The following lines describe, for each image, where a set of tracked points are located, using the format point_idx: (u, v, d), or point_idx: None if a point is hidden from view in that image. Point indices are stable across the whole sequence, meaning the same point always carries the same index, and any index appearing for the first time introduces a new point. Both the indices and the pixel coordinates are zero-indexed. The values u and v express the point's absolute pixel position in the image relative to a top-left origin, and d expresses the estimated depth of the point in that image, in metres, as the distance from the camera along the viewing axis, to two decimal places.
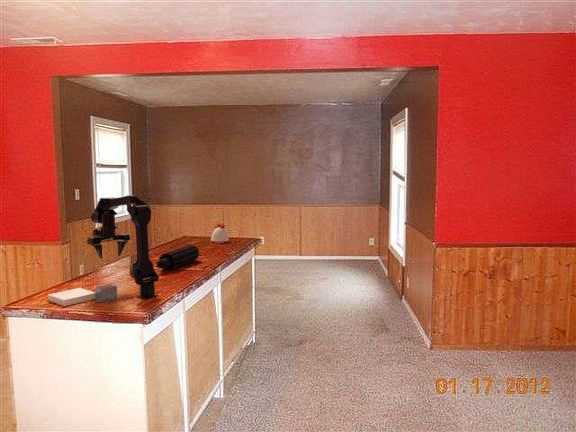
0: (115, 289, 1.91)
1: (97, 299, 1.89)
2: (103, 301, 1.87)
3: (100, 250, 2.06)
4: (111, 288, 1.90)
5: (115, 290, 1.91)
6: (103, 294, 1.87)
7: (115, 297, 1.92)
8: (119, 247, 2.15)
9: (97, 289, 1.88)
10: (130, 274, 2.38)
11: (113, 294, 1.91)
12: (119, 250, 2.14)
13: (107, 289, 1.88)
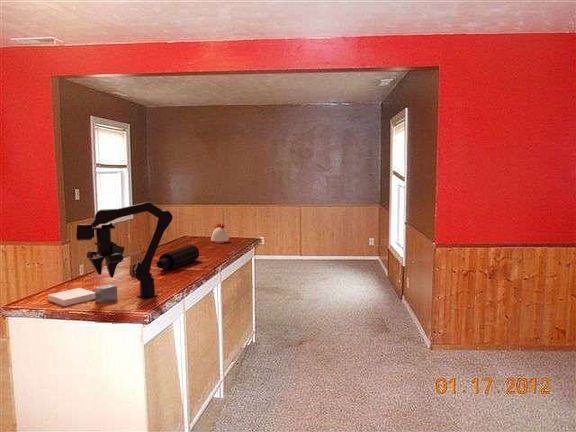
0: (115, 289, 1.91)
1: (97, 299, 1.89)
2: (103, 301, 1.87)
3: (93, 265, 1.91)
4: (111, 288, 1.90)
5: (115, 290, 1.91)
6: (103, 294, 1.87)
7: (115, 297, 1.92)
8: None
9: (97, 289, 1.88)
10: (130, 274, 2.38)
11: (113, 294, 1.91)
12: None
13: (107, 289, 1.88)
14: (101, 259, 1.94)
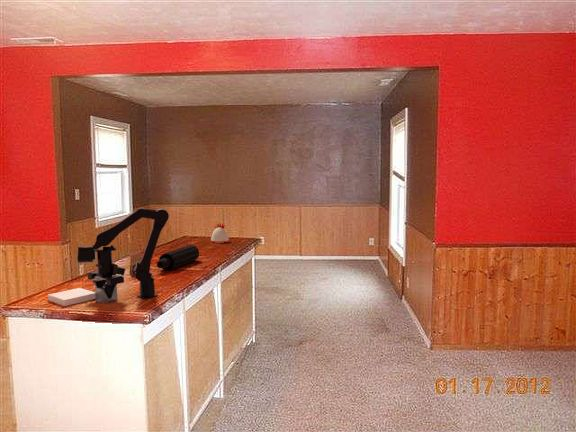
0: (115, 289, 1.91)
1: (97, 299, 1.89)
2: (103, 301, 1.87)
3: None
4: None
5: (115, 289, 1.91)
6: (103, 294, 1.87)
7: (115, 297, 1.92)
8: None
9: (97, 289, 1.88)
10: (130, 274, 2.38)
11: (113, 294, 1.91)
12: None
13: None
14: (104, 281, 1.93)
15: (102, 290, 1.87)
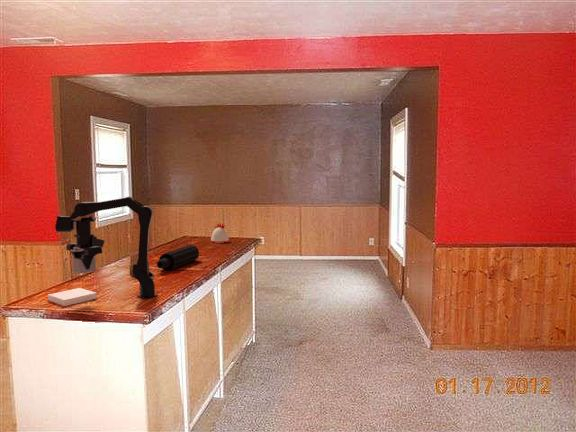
0: (93, 260, 1.91)
1: (75, 270, 1.88)
2: (81, 271, 1.87)
3: None
4: None
5: (94, 261, 1.91)
6: (81, 264, 1.87)
7: (93, 268, 1.91)
8: None
9: (75, 259, 1.88)
10: (130, 274, 2.38)
11: (91, 265, 1.90)
12: None
13: None
14: (83, 252, 1.93)
15: (80, 260, 1.86)
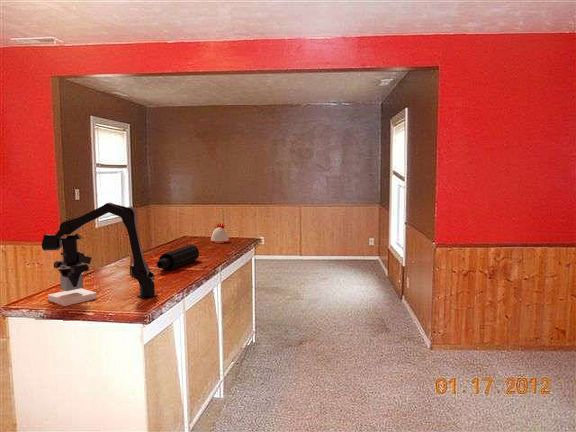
0: (80, 277, 1.92)
1: (62, 287, 1.90)
2: (68, 289, 1.88)
3: None
4: None
5: (81, 278, 1.92)
6: (68, 282, 1.88)
7: (81, 285, 1.93)
8: None
9: (62, 277, 1.89)
10: (130, 274, 2.38)
11: (78, 283, 1.92)
12: None
13: None
14: (70, 269, 1.94)
15: (67, 278, 1.88)
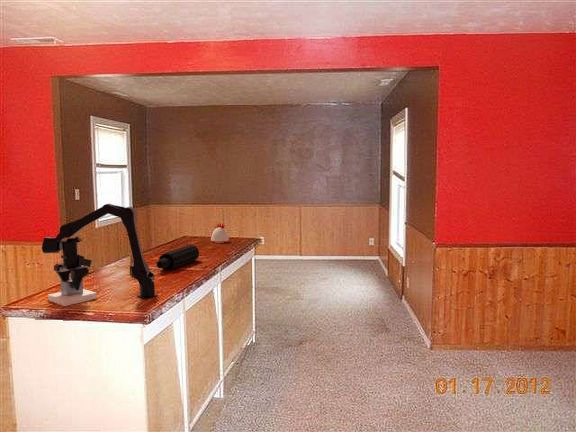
0: (81, 282, 1.93)
1: (62, 292, 1.90)
2: (68, 294, 1.88)
3: (60, 278, 1.93)
4: None
5: (81, 283, 1.93)
6: (68, 287, 1.88)
7: (81, 290, 1.93)
8: None
9: (62, 282, 1.89)
10: (130, 274, 2.38)
11: None
12: None
13: (72, 282, 1.90)
14: (68, 272, 1.95)
15: (67, 283, 1.88)
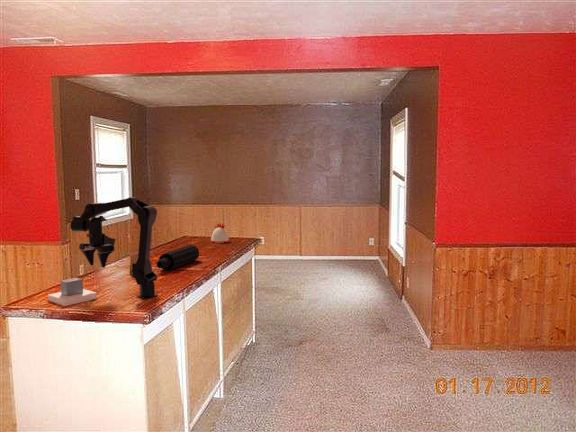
0: (81, 282, 1.93)
1: (62, 292, 1.90)
2: (68, 294, 1.88)
3: (86, 256, 2.01)
4: (77, 281, 1.91)
5: (81, 283, 1.93)
6: (68, 287, 1.88)
7: (81, 290, 1.93)
8: None
9: (62, 282, 1.89)
10: (130, 274, 2.38)
11: (78, 288, 1.92)
12: None
13: (72, 282, 1.90)
14: (93, 250, 2.03)
15: (67, 283, 1.88)
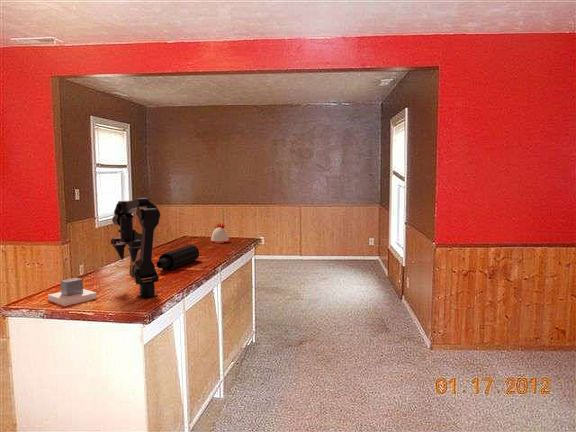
0: (81, 282, 1.93)
1: (62, 292, 1.90)
2: (68, 294, 1.88)
3: (117, 251, 2.12)
4: (77, 281, 1.91)
5: (81, 283, 1.93)
6: (68, 287, 1.88)
7: (81, 290, 1.93)
8: None
9: (62, 282, 1.89)
10: (130, 274, 2.38)
11: (78, 288, 1.92)
12: None
13: (72, 282, 1.90)
14: (123, 245, 2.14)
15: (67, 283, 1.88)
